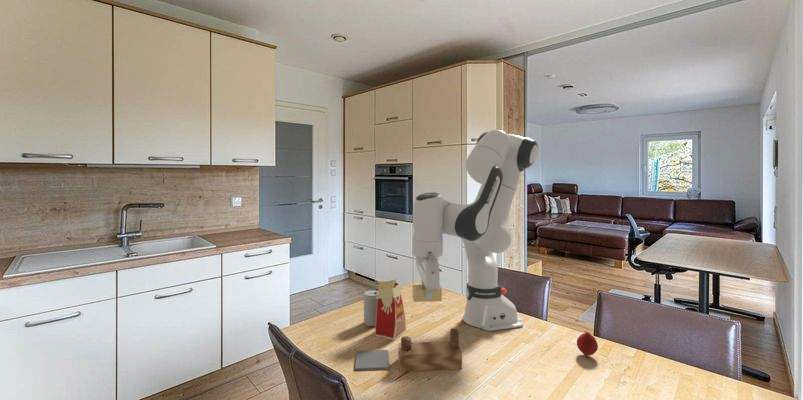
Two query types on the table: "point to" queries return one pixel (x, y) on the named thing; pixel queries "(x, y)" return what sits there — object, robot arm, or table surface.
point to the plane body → (430, 354)
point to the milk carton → (389, 311)
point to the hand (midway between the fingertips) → (426, 294)
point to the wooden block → (419, 294)
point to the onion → (587, 344)
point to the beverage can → (370, 308)
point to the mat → (372, 360)
